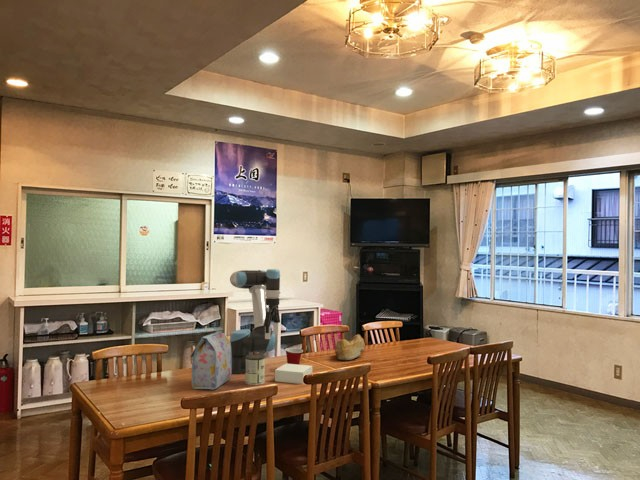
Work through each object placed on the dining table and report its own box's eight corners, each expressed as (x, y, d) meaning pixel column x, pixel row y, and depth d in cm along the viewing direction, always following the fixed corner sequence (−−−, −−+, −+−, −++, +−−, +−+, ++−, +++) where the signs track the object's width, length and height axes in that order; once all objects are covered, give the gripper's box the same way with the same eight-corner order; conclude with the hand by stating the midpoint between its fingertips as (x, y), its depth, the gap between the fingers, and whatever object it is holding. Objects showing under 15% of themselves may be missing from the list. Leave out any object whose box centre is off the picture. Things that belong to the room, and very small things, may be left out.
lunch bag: (204, 377, 265) (205, 329, 266) (233, 379, 262) (234, 330, 263) (186, 389, 243) (187, 336, 243) (218, 391, 240) (219, 337, 241)
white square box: (274, 381, 260) (275, 369, 260) (285, 374, 276) (285, 363, 276) (302, 384, 256) (303, 372, 256) (312, 376, 271) (312, 365, 271)
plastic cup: (300, 372, 279) (300, 351, 280) (282, 371, 282) (282, 350, 282) (304, 368, 290) (305, 348, 290) (287, 367, 292) (287, 347, 292)
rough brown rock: (350, 354, 334) (349, 332, 335) (368, 356, 322) (367, 333, 323) (326, 360, 318) (325, 337, 319) (344, 362, 306) (343, 339, 307)
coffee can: (247, 379, 263) (248, 353, 263) (266, 380, 262) (266, 354, 262) (242, 384, 253) (243, 357, 253) (262, 385, 251) (262, 358, 252)
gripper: (271, 300, 250) (270, 341, 250) (285, 295, 274) (285, 333, 274) (257, 299, 252) (257, 340, 251) (273, 295, 276) (272, 332, 276)
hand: (271, 336), depth 263 cm, fingers open, 13 cm apart
